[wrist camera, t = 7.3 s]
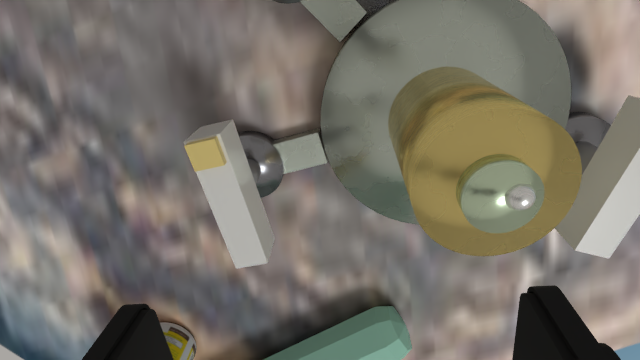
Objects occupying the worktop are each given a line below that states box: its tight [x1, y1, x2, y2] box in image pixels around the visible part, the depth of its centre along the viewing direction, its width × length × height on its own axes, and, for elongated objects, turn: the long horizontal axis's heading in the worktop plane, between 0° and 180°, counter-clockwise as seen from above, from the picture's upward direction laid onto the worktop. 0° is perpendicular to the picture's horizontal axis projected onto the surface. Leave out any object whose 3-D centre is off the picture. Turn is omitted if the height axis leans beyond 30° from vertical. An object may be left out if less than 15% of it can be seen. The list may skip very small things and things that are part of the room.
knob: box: [184, 119, 275, 269], centre depth 26 cm, size 9×2×6 cm, turn 14°
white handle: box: [555, 95, 640, 258], centre depth 24 cm, size 9×2×6 cm, turn 167°
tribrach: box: [238, 0, 611, 256], centre depth 21 cm, size 27×19×14 cm
